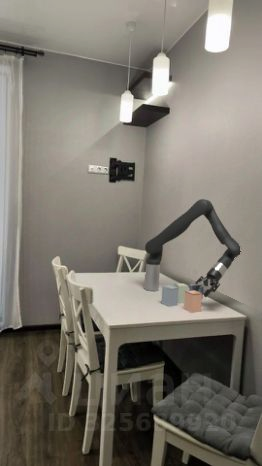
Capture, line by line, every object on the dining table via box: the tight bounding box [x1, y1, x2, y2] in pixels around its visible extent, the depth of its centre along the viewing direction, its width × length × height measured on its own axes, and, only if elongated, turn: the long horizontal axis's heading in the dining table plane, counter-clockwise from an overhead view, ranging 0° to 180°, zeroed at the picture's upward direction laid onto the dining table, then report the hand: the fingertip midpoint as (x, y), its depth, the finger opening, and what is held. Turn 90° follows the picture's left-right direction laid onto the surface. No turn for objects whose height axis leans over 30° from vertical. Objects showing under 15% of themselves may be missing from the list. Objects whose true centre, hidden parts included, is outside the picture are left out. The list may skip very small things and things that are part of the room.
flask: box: [188, 281, 204, 298], centre depth 196 cm, size 9×3×11 cm, turn 104°
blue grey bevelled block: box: [160, 284, 179, 307], centre depth 181 cm, size 6×6×10 cm
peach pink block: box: [183, 290, 203, 313], centre depth 172 cm, size 6×6×10 cm
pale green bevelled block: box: [173, 282, 190, 304], centre depth 188 cm, size 6×6×10 cm
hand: (199, 293), depth 174 cm, fingers open, 8 cm apart
